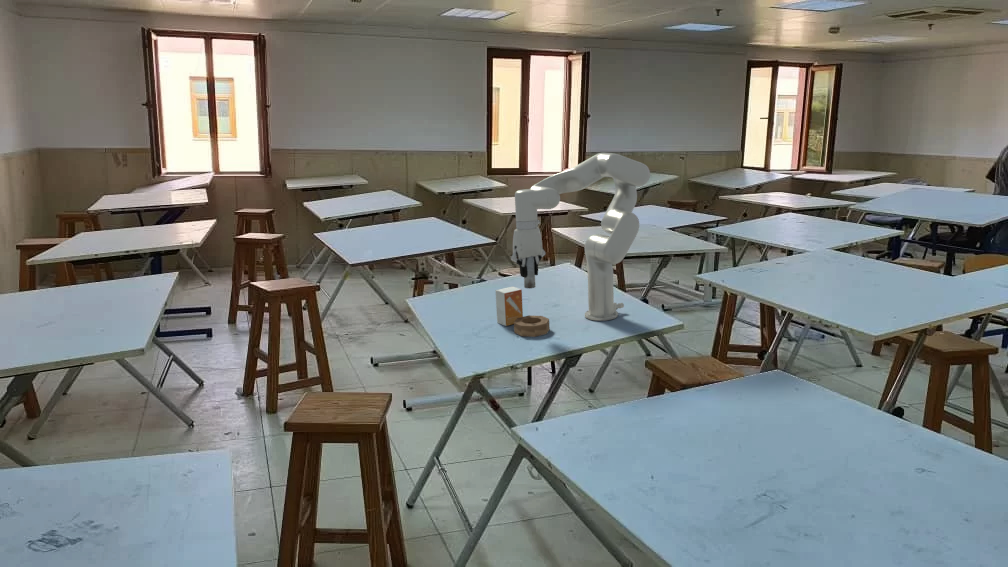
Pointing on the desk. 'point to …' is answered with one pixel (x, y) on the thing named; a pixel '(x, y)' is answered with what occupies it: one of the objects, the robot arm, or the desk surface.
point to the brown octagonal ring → (531, 326)
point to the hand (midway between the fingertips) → (529, 275)
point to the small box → (508, 305)
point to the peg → (530, 273)
